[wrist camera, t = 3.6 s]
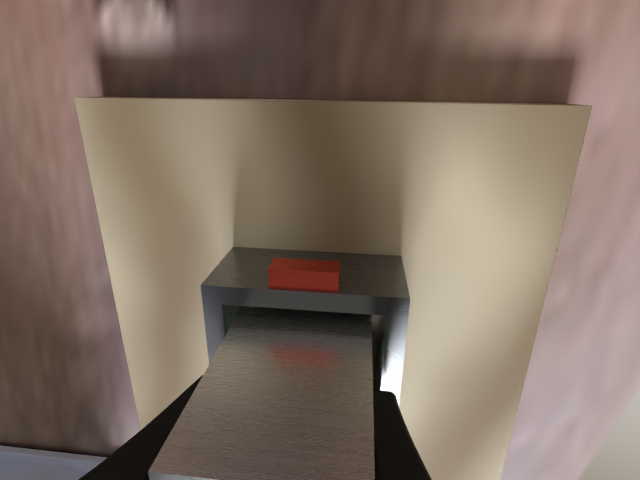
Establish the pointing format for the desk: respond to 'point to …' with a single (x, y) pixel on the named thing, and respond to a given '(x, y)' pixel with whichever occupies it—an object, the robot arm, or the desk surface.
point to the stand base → (344, 235)
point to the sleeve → (314, 295)
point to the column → (279, 402)
